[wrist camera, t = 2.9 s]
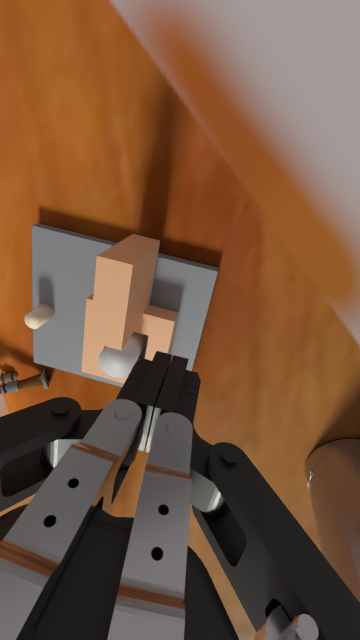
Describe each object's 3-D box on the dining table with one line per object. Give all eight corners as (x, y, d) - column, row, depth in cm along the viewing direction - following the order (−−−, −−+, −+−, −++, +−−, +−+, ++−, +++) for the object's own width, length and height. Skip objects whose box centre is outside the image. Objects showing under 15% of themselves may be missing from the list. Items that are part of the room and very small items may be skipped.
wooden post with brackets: (-22, 372, 38) (-36, 394, 34) (48, 357, 40) (43, 376, 35) (-16, 384, 39) (-29, 408, 35) (52, 369, 40) (48, 390, 36)
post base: (218, 267, 28) (213, 291, 23) (184, 397, 35) (174, 438, 30) (39, 223, 30) (-6, 235, 24) (39, 356, 36) (4, 389, 31)
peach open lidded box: (163, 381, 33) (143, 435, 26) (89, 360, 34) (51, 408, 27) (192, 248, 27) (175, 275, 20) (101, 226, 27) (55, 245, 21)
